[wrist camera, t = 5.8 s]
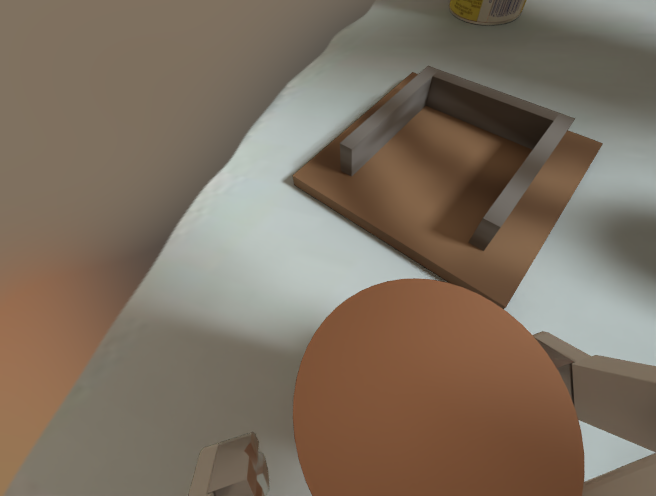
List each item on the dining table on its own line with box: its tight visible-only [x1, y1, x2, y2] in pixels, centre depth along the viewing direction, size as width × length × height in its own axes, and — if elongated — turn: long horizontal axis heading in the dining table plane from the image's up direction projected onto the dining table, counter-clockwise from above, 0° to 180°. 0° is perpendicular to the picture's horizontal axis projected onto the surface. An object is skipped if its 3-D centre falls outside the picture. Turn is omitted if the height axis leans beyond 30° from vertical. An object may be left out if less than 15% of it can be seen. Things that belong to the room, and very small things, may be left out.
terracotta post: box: [293, 279, 584, 496], centre depth 10 cm, size 4×4×12 cm
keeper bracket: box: [293, 66, 603, 309], centre depth 22 cm, size 16×16×4 cm
